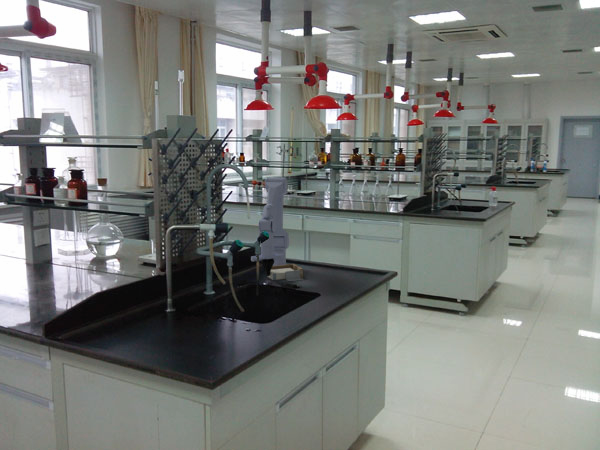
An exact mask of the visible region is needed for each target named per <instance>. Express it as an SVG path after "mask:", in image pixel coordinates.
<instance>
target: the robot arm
mask: <svg viewBox="0 0 600 450" xmlns="http://www.w3.org/2000/svg"><path fill="white" fill-rule="evenodd" d="M264 188H265V190H266V193H267V198H266V199H267V200H266V205H264V206H263V210H262V215H261V219H259V221H258V231H259V235H260V234H261V233H262V232H263V231H267V232H268V233H269V239H268V240H266V241H265V242H263V243H262V244H261V243H260V254H258V255H259V261H260V263H261V264H262V266H263V270H264V273H265V274H264V275H265V276H266V277H268V276H270V271H271V268H272V266H276V265H286V264H287V261H286V260H287V257H286V256H287V255H286V254H287V253H286V252H287V249H288V248H289V246H290V236H289V232H288V231H287V230H286V229H284V228H283V227H284V196H285V195H287V194H288V179H287V177H286V176H284V177H279V176H277V177H274V176H273V177H270V176H269V177H268V176H266V178H265V179H264ZM256 256H257V255H253V256H252V255H251V256H250V261H251V262H259V261H257V257H256Z"/></svg>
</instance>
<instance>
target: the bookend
mask: <svg viewBox="0 0 600 450" xmlns="http://www.w3.org/2000/svg"><path fill="white" fill-rule="evenodd" d="M284 280H286V281H288V282H296V281H303V280H304V278H301V277H300V270H295V271H285V279H284Z"/></svg>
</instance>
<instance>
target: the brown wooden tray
mask: <svg viewBox="0 0 600 450" xmlns="http://www.w3.org/2000/svg"><path fill="white" fill-rule="evenodd" d="M284 268H291V269H293V270H294V271H295V270H300V277H301V278H302V279H304V269H303V268H302V267H300V266H299V265H297V264H295V263H286V265H276V266H272V268H271V270H274V269H284Z"/></svg>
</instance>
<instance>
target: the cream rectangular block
mask: <svg viewBox="0 0 600 450" xmlns="http://www.w3.org/2000/svg"><path fill="white" fill-rule="evenodd" d="M285 271H294V270H293V269H291V268H284V269H274V270H271V271H270V276H267V277H268V278H269V279H270V280H271V281H276V280H277V281H278V280H286V279H285Z"/></svg>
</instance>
